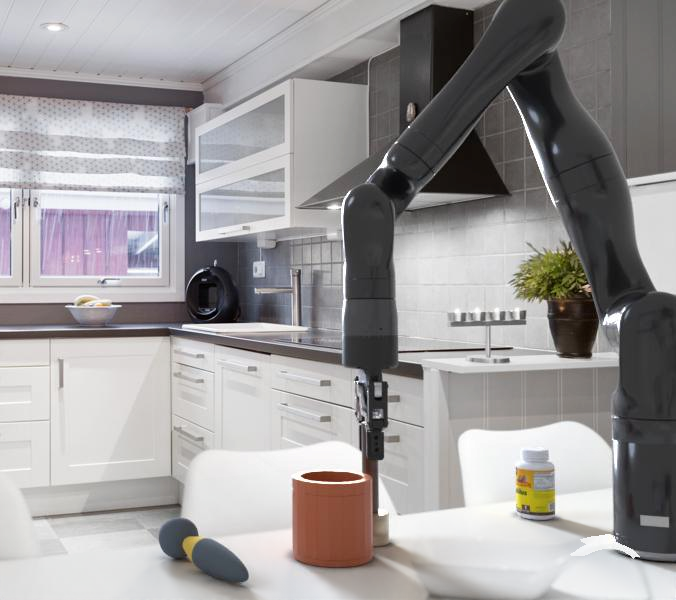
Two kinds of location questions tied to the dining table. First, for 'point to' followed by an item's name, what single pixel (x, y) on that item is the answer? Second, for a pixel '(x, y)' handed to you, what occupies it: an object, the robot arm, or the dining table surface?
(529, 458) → the supplement bottle
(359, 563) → the jar
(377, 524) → the brown rod with cap
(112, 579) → the dining table surface
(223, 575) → the paintbrush
